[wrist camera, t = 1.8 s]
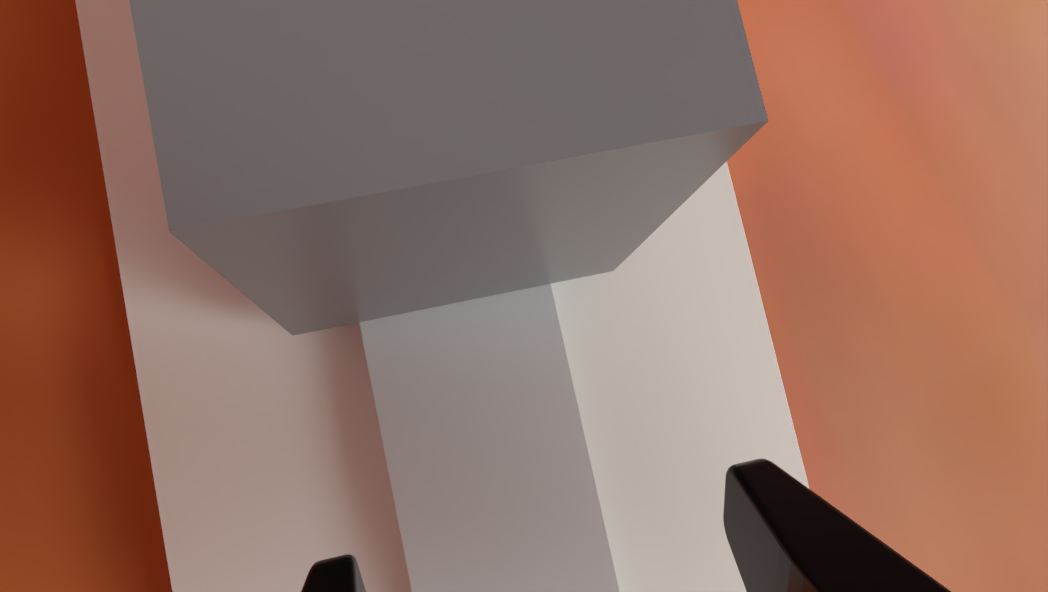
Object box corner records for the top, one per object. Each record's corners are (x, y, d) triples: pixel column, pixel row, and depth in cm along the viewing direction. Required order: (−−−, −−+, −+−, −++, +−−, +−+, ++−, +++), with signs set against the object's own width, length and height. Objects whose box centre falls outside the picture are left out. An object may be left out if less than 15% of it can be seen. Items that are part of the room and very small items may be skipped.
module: (613, 270, 18) (768, 120, 10) (292, 335, 18) (169, 232, 9) (560, 41, 19) (663, -281, 11) (247, 94, 18) (94, -208, 10)
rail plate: (817, 595, 20) (886, 621, 17) (212, 747, 18) (171, 805, 15) (596, -291, 22) (621, -404, 19) (52, -222, 21) (-11, -333, 18)
